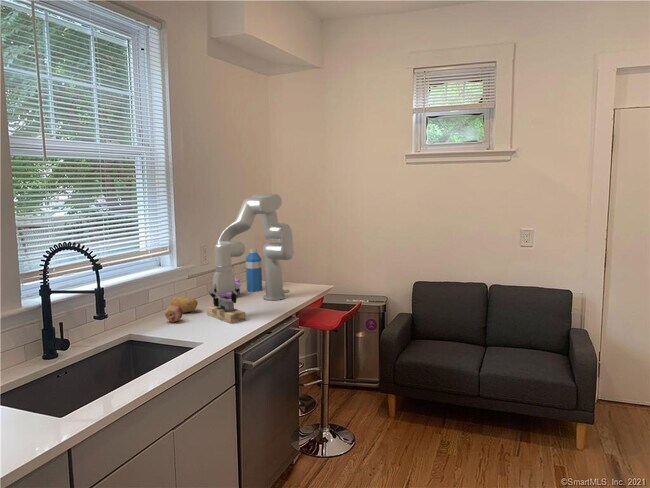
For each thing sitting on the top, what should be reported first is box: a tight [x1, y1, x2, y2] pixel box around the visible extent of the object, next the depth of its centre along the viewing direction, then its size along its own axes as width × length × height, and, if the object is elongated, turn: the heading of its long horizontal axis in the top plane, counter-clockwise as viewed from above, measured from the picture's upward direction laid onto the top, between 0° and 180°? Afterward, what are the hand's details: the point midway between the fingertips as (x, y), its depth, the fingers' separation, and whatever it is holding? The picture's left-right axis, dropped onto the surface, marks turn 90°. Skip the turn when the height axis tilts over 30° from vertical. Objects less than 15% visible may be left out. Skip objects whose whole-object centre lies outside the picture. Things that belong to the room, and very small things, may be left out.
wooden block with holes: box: [206, 305, 246, 324], centre depth 238 cm, size 8×22×4 cm, turn 42°
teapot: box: [218, 277, 241, 300], centre depth 282 cm, size 15×13×11 cm
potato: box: [171, 295, 198, 314], centre depth 250 cm, size 10×14×8 cm
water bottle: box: [245, 248, 263, 293], centre depth 299 cm, size 9×9×25 cm
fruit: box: [164, 304, 183, 323], centre depth 232 cm, size 8×8×8 cm
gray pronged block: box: [218, 297, 235, 312], centre depth 238 cm, size 10×3×8 cm, turn 42°
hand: (225, 304), depth 238 cm, fingers open, 9 cm apart
